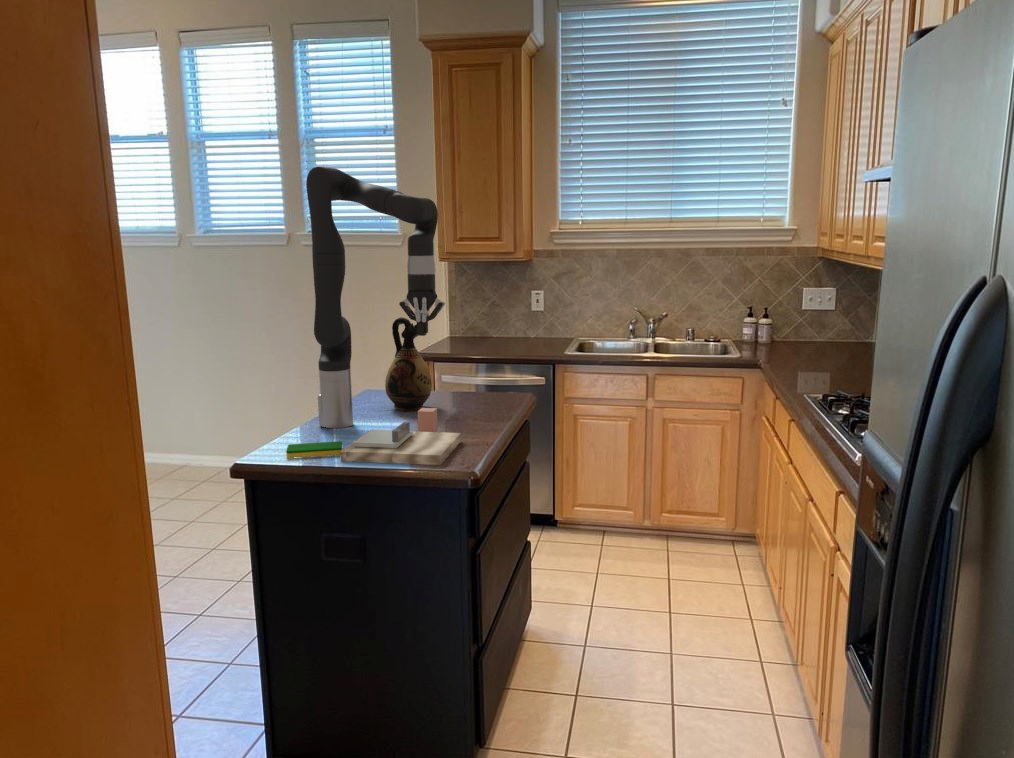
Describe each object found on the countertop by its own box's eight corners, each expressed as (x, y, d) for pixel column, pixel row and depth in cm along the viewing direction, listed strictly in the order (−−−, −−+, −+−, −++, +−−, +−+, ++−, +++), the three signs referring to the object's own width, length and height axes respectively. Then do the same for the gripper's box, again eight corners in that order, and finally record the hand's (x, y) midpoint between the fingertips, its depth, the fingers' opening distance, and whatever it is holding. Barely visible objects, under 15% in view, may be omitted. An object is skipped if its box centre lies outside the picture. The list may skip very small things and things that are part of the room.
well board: (340, 461, 189) (340, 451, 188) (370, 438, 210) (370, 430, 210) (440, 465, 184) (440, 455, 184) (461, 441, 206) (460, 433, 205)
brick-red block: (418, 435, 214) (417, 411, 212) (422, 431, 218) (422, 407, 217) (433, 435, 213) (432, 411, 212) (437, 431, 217) (437, 408, 216)
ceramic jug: (442, 406, 251) (439, 317, 246) (412, 415, 238) (409, 321, 233) (403, 401, 260) (400, 314, 255) (372, 409, 247) (368, 319, 242)
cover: (353, 446, 192) (353, 431, 191) (372, 432, 205) (371, 419, 205) (396, 447, 190) (396, 433, 189) (412, 434, 203) (412, 420, 203)
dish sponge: (342, 456, 194) (341, 447, 194) (286, 460, 191) (286, 451, 191) (342, 449, 201) (341, 440, 201) (288, 453, 198) (288, 444, 198)
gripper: (393, 273, 202) (395, 336, 205) (441, 273, 200) (442, 337, 203) (402, 271, 210) (404, 333, 213) (448, 272, 207) (449, 334, 210)
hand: (422, 335), depth 208 cm, fingers closed
